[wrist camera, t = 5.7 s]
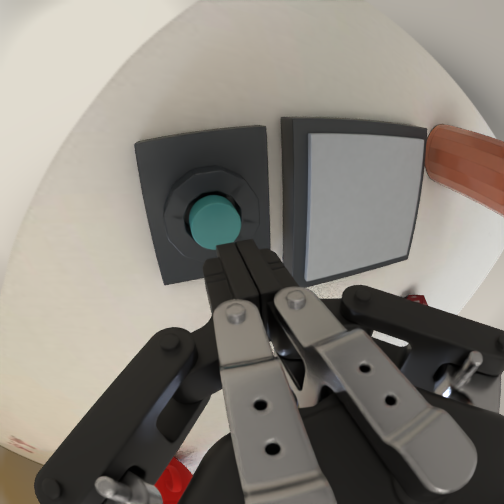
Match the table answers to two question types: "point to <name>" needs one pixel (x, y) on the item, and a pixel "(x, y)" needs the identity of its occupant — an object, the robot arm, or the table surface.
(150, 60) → the table surface
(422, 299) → the dice
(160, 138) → the pad
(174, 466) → the ceramic cup
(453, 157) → the cup
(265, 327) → the robot arm
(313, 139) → the scale
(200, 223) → the button
